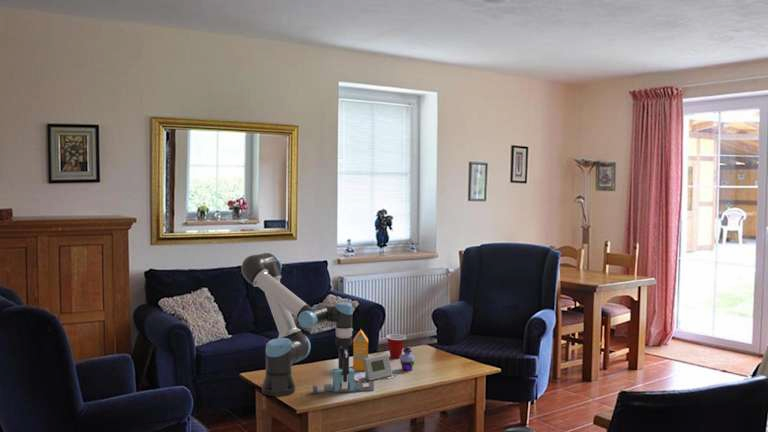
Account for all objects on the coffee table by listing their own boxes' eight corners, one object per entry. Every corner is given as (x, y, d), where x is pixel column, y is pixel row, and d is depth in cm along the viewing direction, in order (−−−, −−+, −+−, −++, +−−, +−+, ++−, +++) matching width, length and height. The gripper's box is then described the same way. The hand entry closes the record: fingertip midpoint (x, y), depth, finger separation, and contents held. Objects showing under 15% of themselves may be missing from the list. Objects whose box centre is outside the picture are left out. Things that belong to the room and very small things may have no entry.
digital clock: (367, 382, 326) (368, 360, 325) (358, 377, 333) (358, 356, 333) (396, 377, 334) (396, 356, 334) (386, 373, 342) (386, 352, 341)
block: (334, 391, 307) (334, 371, 307) (332, 388, 311) (333, 369, 311) (354, 390, 309) (354, 370, 309) (351, 387, 314) (352, 368, 313)
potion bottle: (412, 372, 343) (412, 349, 342) (396, 370, 346) (396, 347, 345) (417, 368, 351) (418, 345, 350) (402, 366, 354) (402, 344, 353)
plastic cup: (393, 361, 365) (393, 339, 365) (382, 356, 374) (382, 335, 374) (409, 358, 371) (410, 336, 371) (398, 354, 380) (398, 333, 380)
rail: (313, 394, 306) (313, 386, 305) (312, 392, 308) (312, 384, 308) (373, 390, 313) (373, 382, 312) (372, 388, 315) (372, 381, 315)
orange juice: (368, 366, 354) (368, 328, 353) (367, 371, 345) (368, 332, 344) (353, 366, 354) (353, 328, 353) (352, 370, 345) (353, 332, 344)
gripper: (356, 340, 302) (355, 391, 303) (348, 331, 319) (347, 380, 320) (339, 341, 300) (338, 393, 301) (332, 332, 317) (331, 381, 318)
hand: (343, 386), depth 310 cm, fingers open, 5 cm apart
